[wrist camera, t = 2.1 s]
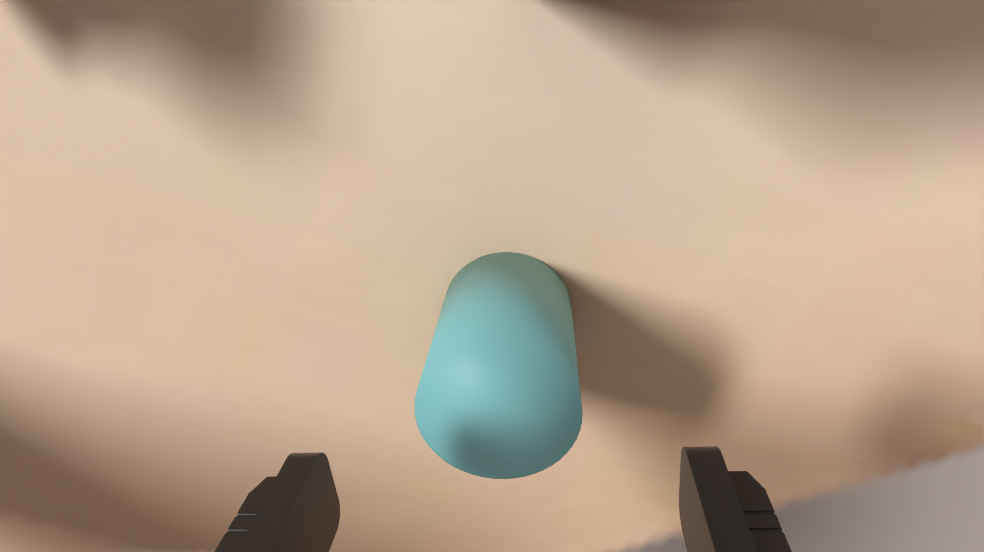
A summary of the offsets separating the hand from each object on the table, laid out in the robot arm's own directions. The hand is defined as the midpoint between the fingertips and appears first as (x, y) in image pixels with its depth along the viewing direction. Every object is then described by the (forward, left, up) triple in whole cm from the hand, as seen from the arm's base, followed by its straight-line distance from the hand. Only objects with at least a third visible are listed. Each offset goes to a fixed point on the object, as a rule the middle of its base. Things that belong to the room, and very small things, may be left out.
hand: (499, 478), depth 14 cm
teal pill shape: (0, -1, -9) cm, 9 cm away
